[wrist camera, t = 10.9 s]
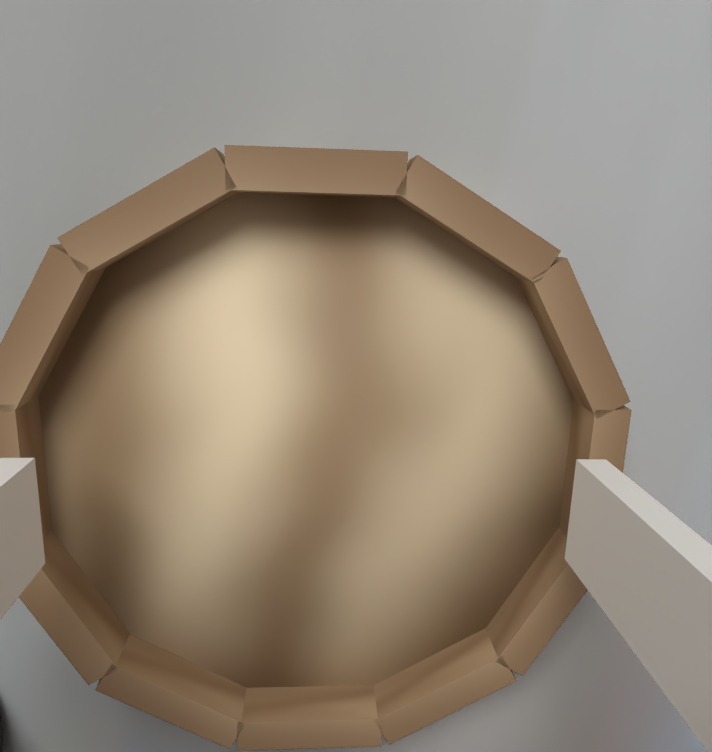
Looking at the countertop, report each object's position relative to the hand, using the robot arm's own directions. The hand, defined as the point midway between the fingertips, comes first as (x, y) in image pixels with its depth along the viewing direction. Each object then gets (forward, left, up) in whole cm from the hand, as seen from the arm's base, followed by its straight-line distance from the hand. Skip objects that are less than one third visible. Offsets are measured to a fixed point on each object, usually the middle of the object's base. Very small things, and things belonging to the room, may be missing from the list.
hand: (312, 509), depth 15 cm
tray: (0, 0, -4) cm, 4 cm away
